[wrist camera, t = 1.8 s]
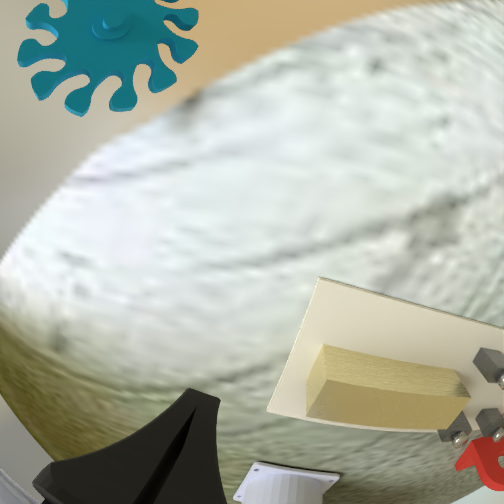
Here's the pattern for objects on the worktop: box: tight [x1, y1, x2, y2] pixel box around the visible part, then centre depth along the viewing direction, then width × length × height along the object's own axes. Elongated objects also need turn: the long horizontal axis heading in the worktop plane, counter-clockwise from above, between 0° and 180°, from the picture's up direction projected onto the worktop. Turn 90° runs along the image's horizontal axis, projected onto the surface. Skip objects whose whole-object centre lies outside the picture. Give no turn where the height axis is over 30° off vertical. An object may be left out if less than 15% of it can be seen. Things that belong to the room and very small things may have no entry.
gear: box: [17, 0, 198, 117], centre depth 11 cm, size 11×6×10 cm
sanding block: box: [306, 344, 471, 430], centre depth 13 cm, size 3×10×3 cm, turn 76°
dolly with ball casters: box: [437, 347, 504, 448], centre depth 12 cm, size 7×8×3 cm
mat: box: [267, 277, 504, 432], centre depth 15 cm, size 10×23×1 cm, turn 76°
